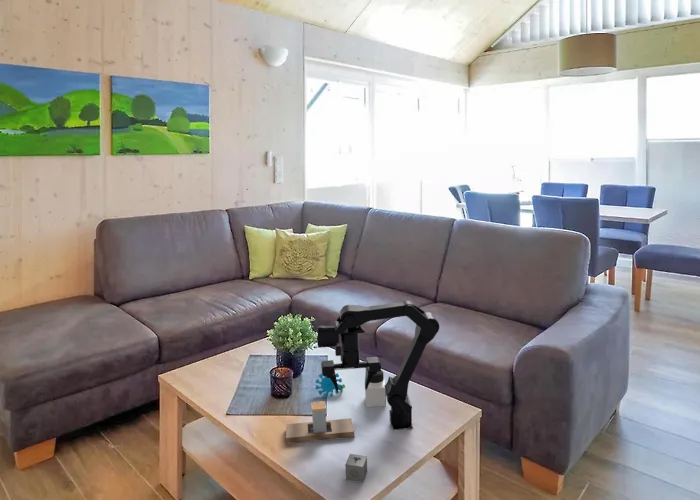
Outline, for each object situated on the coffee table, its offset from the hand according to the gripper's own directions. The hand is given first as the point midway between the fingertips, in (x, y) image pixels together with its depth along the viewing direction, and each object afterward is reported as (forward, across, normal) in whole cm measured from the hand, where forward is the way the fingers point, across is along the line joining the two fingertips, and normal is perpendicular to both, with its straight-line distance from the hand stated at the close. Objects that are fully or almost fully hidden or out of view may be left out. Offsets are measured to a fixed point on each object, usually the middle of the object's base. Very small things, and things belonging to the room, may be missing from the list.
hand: (351, 390), depth 170 cm
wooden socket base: (+13, +11, +2) cm, 17 cm away
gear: (+13, +5, -24) cm, 28 cm away
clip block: (+13, +11, +2) cm, 17 cm away
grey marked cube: (+13, +2, +25) cm, 28 cm away
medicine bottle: (+13, -10, -15) cm, 22 cm away
